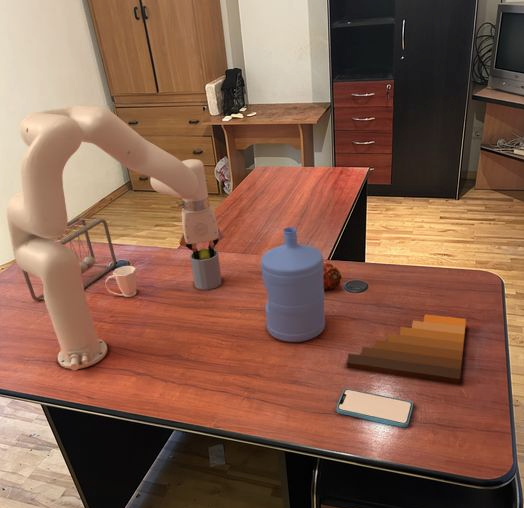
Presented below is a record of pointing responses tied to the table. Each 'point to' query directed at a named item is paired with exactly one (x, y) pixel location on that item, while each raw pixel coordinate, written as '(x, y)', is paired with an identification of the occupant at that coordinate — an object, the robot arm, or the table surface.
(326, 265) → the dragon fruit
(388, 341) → the pan flute
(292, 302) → the water jug
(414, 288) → the table surface
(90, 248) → the newton's cradle
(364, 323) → the table surface
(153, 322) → the table surface
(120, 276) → the cup
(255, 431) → the table surface
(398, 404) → the smartphone
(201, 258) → the plum
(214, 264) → the tumbler
